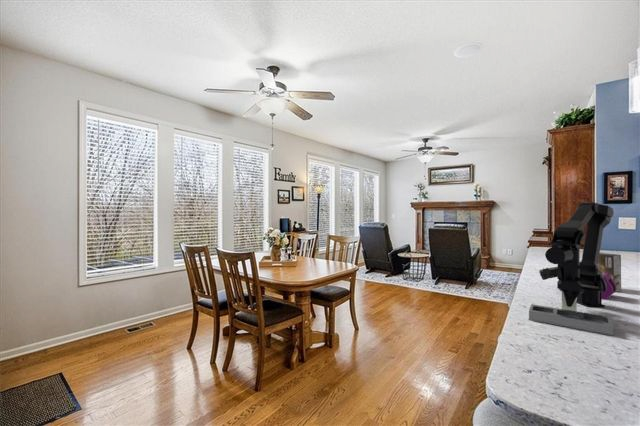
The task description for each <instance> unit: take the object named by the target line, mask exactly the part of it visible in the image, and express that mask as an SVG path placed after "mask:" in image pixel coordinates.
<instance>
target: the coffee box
mask: <svg viewBox="0 0 640 426" xmlns="http://www.w3.org/2000/svg"><path fill="white" fill-rule="evenodd" d="M621 258H622V255H621V254H618V253H617V254H615V253H607V252H600V253H599V260H598V266H599V267H600V269H601V271H602V274H606V273H609V274H610V276H611V277H612V279H613V281H614V282H615V284H616V286H617V289H616V291H615V292H614V293H616V292H621V291H622V259H621Z"/></svg>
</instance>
